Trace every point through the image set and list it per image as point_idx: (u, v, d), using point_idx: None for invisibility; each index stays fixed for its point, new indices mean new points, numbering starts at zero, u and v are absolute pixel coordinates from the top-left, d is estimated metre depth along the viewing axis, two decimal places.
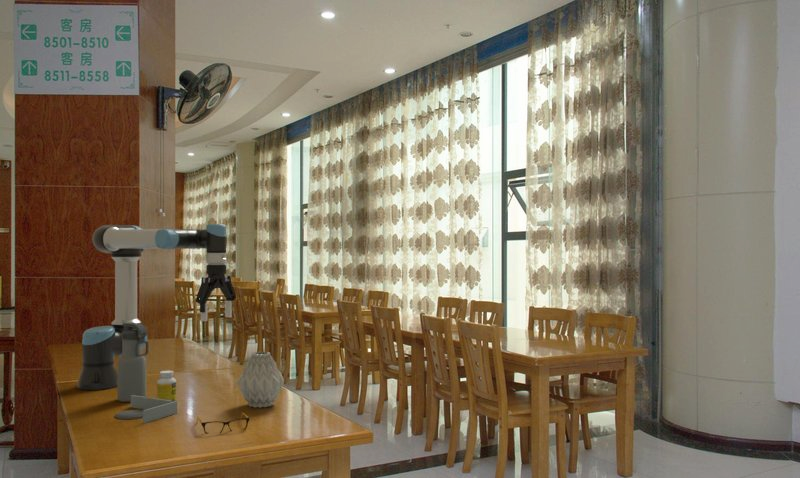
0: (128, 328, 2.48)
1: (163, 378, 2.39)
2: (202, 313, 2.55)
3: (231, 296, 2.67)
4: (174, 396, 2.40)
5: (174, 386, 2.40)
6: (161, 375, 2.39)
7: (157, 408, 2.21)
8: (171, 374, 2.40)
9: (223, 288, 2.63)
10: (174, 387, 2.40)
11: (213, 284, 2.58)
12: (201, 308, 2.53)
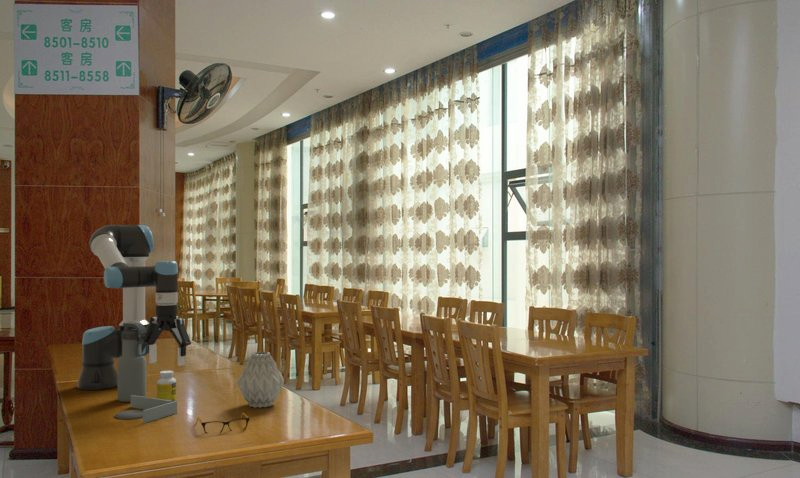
0: (128, 328, 2.48)
1: (163, 378, 2.39)
2: None
3: (179, 342, 2.37)
4: (174, 396, 2.40)
5: (174, 386, 2.40)
6: (161, 375, 2.39)
7: (157, 408, 2.21)
8: (171, 374, 2.40)
9: None
10: (174, 387, 2.40)
11: None
12: None
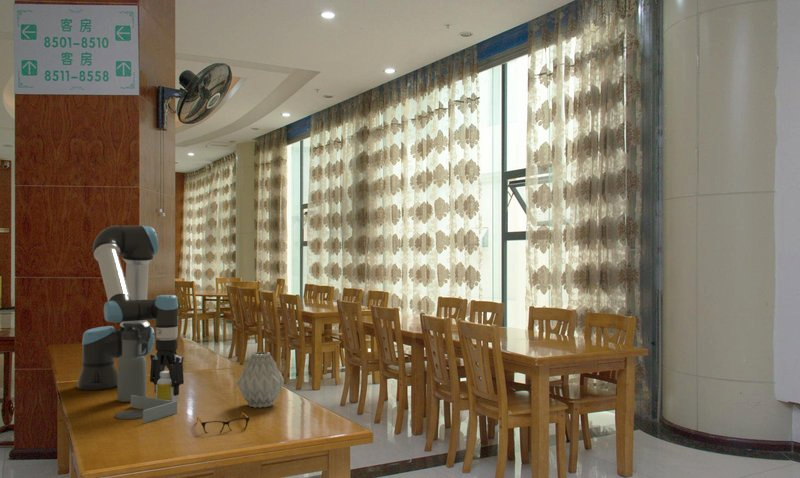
0: (128, 328, 2.48)
1: (163, 378, 2.39)
2: None
3: (173, 381, 2.38)
4: None
5: None
6: (161, 375, 2.39)
7: (157, 408, 2.21)
8: None
9: None
10: None
11: None
12: None
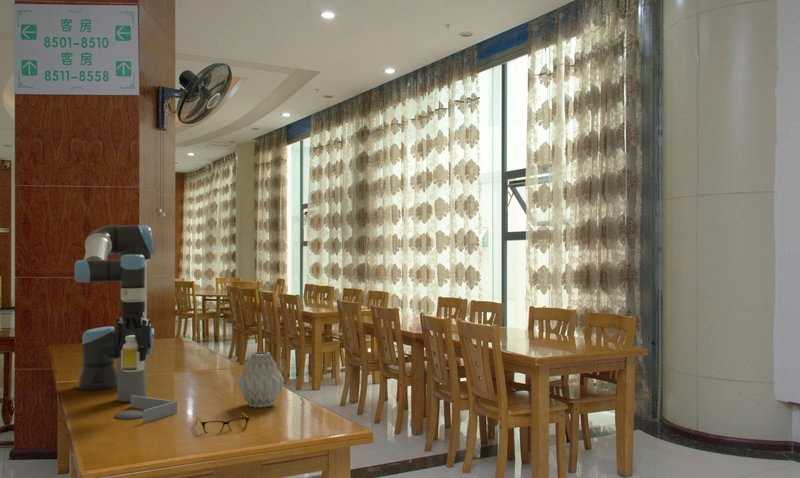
0: None
1: (129, 342, 2.24)
2: None
3: (139, 346, 2.23)
4: None
5: None
6: (126, 339, 2.24)
7: (157, 408, 2.21)
8: None
9: None
10: None
11: (124, 325, 2.26)
12: None
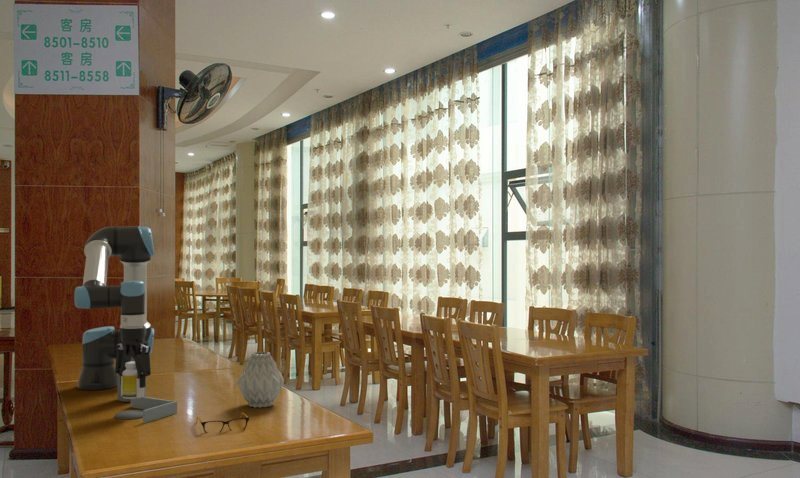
0: None
1: (129, 369, 2.24)
2: None
3: (139, 373, 2.23)
4: None
5: None
6: (126, 366, 2.24)
7: (157, 408, 2.21)
8: None
9: None
10: None
11: None
12: None
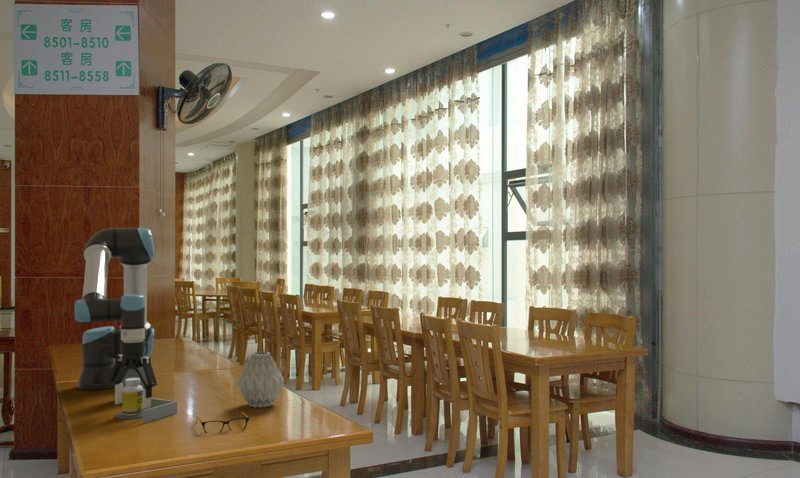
0: None
1: (128, 386, 2.24)
2: None
3: (145, 383, 2.22)
4: (140, 405, 2.25)
5: (140, 394, 2.25)
6: (126, 383, 2.24)
7: (157, 408, 2.21)
8: (137, 381, 2.25)
9: None
10: (140, 395, 2.25)
11: (123, 364, 2.26)
12: None
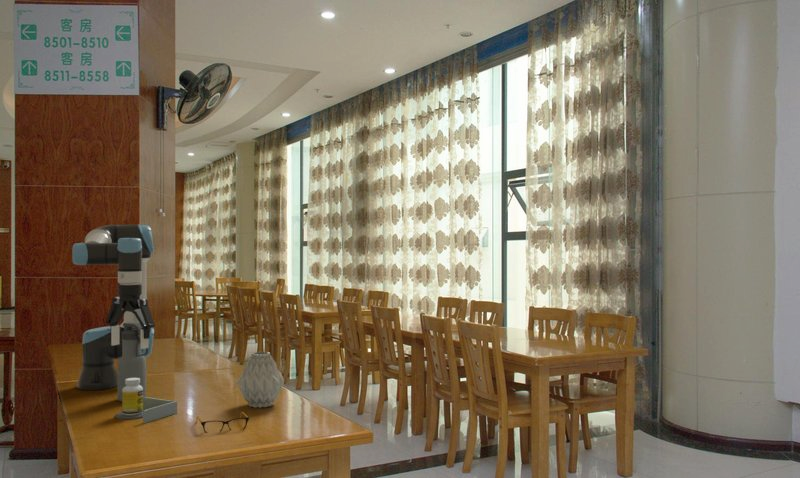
0: (128, 328, 2.48)
1: (129, 386, 2.24)
2: None
3: (142, 324, 2.24)
4: (140, 405, 2.25)
5: (140, 394, 2.26)
6: (126, 382, 2.24)
7: (157, 408, 2.21)
8: (137, 381, 2.25)
9: None
10: (140, 395, 2.26)
11: (120, 306, 2.28)
12: None
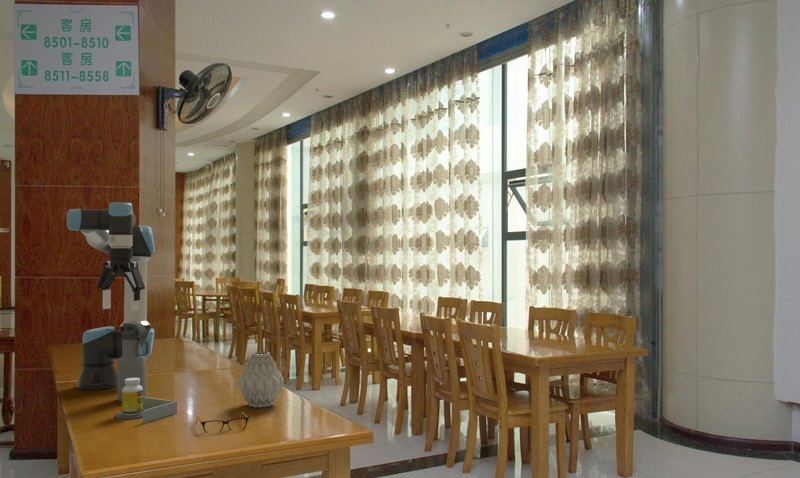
0: (128, 328, 2.48)
1: (128, 386, 2.24)
2: None
3: (133, 286, 2.27)
4: (140, 405, 2.25)
5: (140, 394, 2.25)
6: (126, 383, 2.24)
7: (157, 408, 2.21)
8: (137, 381, 2.25)
9: None
10: (140, 395, 2.25)
11: None
12: None
